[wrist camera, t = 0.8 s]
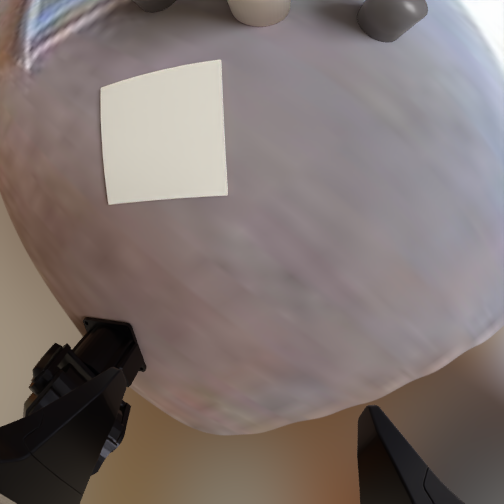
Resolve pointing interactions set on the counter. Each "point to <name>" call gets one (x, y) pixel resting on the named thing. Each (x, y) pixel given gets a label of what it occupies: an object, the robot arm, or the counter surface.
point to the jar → (259, 11)
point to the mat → (165, 135)
